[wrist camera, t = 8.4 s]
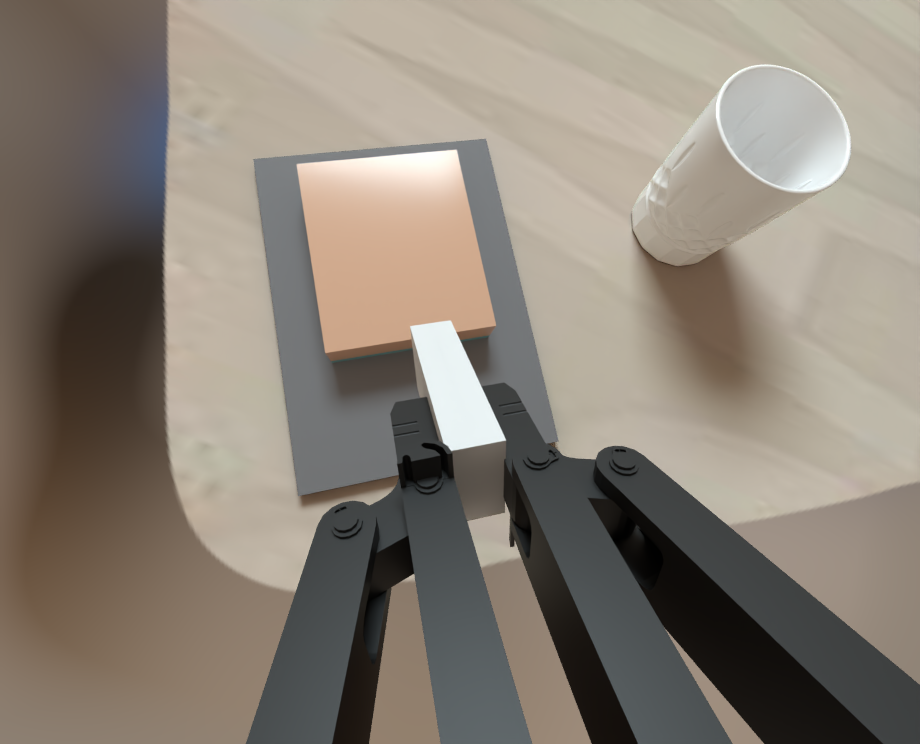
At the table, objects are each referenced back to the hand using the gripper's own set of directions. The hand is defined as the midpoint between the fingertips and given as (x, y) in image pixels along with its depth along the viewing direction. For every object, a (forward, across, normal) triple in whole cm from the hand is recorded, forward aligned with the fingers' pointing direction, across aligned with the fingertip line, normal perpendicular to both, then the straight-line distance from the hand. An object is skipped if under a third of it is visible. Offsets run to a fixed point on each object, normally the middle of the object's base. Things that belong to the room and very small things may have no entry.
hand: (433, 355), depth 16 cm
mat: (+13, 0, -4) cm, 13 cm away
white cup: (+15, +21, -2) cm, 26 cm away
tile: (+9, 0, -5) cm, 10 cm away
